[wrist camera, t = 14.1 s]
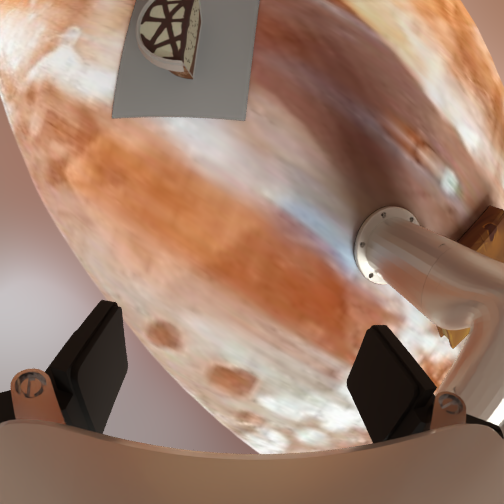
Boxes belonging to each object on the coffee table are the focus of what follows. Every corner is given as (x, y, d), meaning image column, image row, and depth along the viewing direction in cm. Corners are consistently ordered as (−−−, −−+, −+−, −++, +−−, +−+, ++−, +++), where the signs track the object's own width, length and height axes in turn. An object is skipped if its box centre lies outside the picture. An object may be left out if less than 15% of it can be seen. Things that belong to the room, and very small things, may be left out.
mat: (259, 0, 28) (259, -2, 27) (245, 120, 34) (245, 120, 34) (137, 0, 26) (136, -2, 25) (113, 118, 32) (111, 117, 31)
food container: (160, 15, 27) (144, -20, 18) (203, 13, 28) (198, -24, 18) (146, 90, 31) (121, 69, 21) (192, 89, 32) (180, 66, 22)
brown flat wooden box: (486, 204, 42) (506, 210, 36) (500, 269, 47) (516, 278, 42) (416, 277, 44) (435, 290, 39) (439, 335, 50) (453, 349, 44)
